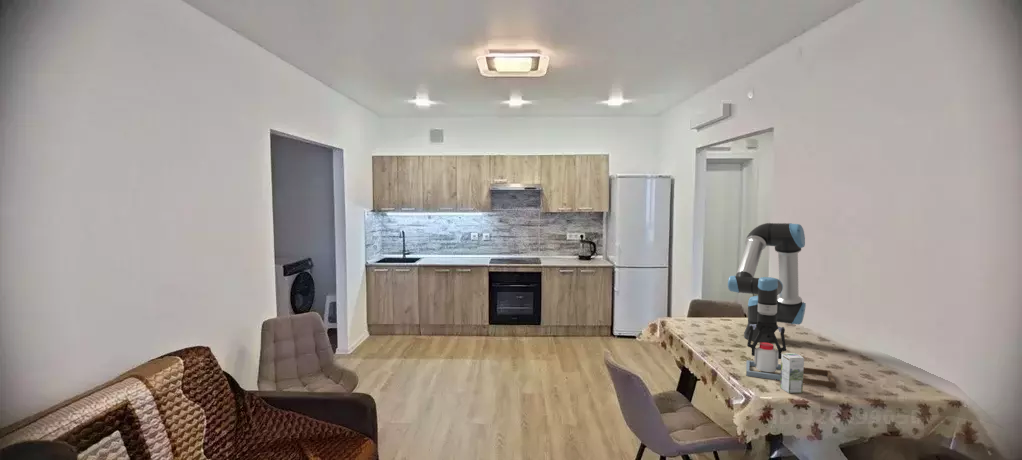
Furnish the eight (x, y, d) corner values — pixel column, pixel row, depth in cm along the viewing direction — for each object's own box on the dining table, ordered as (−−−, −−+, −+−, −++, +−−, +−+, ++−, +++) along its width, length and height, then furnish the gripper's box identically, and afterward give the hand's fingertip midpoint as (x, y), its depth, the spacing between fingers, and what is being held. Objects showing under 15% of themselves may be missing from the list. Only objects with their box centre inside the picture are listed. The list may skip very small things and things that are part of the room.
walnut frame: (788, 369, 214) (789, 365, 214) (830, 375, 207) (830, 370, 207) (791, 381, 200) (791, 377, 200) (835, 387, 193) (836, 383, 193)
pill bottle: (765, 373, 206) (766, 347, 206) (752, 366, 214) (752, 342, 213) (780, 371, 208) (780, 346, 208) (766, 365, 216) (766, 341, 215)
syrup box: (793, 387, 194) (794, 352, 194) (803, 393, 189) (804, 357, 188) (780, 387, 194) (780, 352, 193) (788, 393, 188) (789, 357, 187)
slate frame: (746, 364, 222) (746, 360, 221) (784, 369, 215) (784, 364, 215) (746, 375, 208) (746, 371, 208) (787, 381, 201) (787, 376, 201)
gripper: (740, 312, 211) (740, 363, 212) (795, 317, 202) (793, 370, 203) (741, 309, 217) (740, 358, 219) (793, 313, 208) (792, 365, 210)
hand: (766, 364), depth 211 cm, fingers closed on pill bottle, 8 cm apart
